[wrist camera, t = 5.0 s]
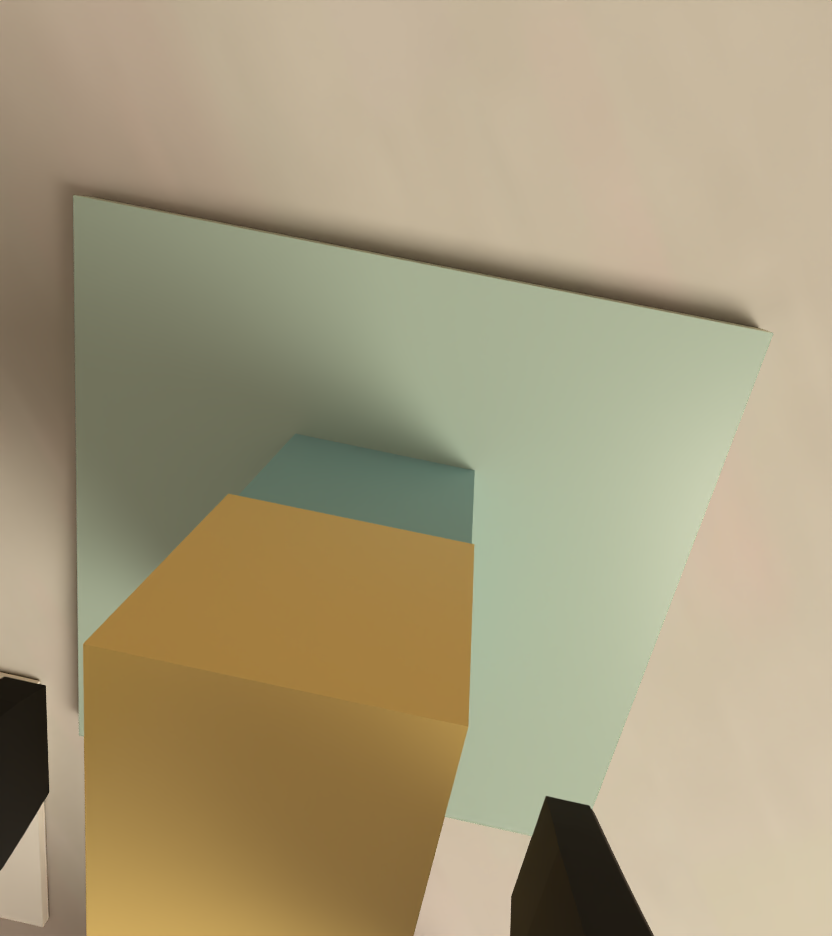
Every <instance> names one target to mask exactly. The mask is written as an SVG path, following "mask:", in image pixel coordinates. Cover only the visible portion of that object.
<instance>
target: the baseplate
mask: <svg viewBox="0 0 832 936" xmlns="http://www.w3.org/2000/svg"><path fill="white" fill-rule="evenodd" d="M73 235H74V326H75V417H76V508H77V599H78V690H79V736H84V688H83V643H84V642H85V641H86V640H87V639H88V638H89V637H90V636H91V635H92V634H93V633H94V632H95V631H96V630H97V629H98V628H99V627H100V626H101V625H102V624H103V623H104V622H105V621H106V620H107V619H108V617H109V616H110V615H111V614H112V613H113V612H114V611H115V610H116V609H117V608H118V607H119V606H120V605H121V604H122V603H123V602H124V601H125V600H126V599H127V598H128V597H129V596H130V595H131V594H132V593H133V592H134V591H135V590H136V589H137V588H138V586H139V585H140V584H141V583H142V582H143V581H144V580H145V579H146V578H147V577H148V576H149V575H150V574H151V573H152V572H153V571H154V570H155V569H156V568H157V567H158V566H159V565H160V564H161V563H162V562H163V561H164V560H165V559H166V558H167V557H168V555H169V554H170V553H171V552H172V551H173V550H174V549H175V548H176V547H177V546H178V545H179V544H180V543H181V542H182V541H183V540H184V539H185V538H186V537H187V536H188V535H189V534H190V533H191V532H192V531H193V530H194V529H195V528H196V527H197V526H198V524H199V523H200V522H201V521H202V520H203V519H204V518H205V517H206V516H207V515H208V514H209V513H210V512H211V511H212V510H213V509H214V508H215V507H216V506H217V505H218V504H219V503H220V502H221V501H222V500H223V499H224V498H225V497H226V496H227V494H233V495H239V494H240V493H241V492H242V491H243V490H244V489H245V488H246V486H247V485H248V484H249V483H250V482H251V481H252V480H253V479H254V478H255V477H256V476H257V475H258V473H259V472H260V471H261V470H262V469H263V468H264V467H265V466H266V465H267V464H268V463H269V462H270V460H271V459H272V458H273V457H274V456H275V455H276V454H277V453H278V452H279V451H280V450H281V449H282V447H283V446H284V445H285V444H286V443H287V442H288V441H289V440H290V439H291V438H292V437H293V436H294V434H300V435H305V436H309V437H314V438H319V439H324V440H329V441H334V442H339V443H343V444H348V445H353V446H358V447H363V448H368V449H372V450H377V451H382V452H387V453H392V454H397V455H402V456H406V457H411V458H416V459H421V460H426V461H431V462H435V463H440V464H445V465H450V466H455V467H460V468H465V469H469V470H474V471H475V477H474V501H473V525H472V544H474V574H473V604H472V635H471V665H470V696H469V727H468V731H467V734H466V738H465V742H464V746H463V749H462V753H461V757H460V761H459V765H458V768H457V772H456V776H455V780H454V784H453V787H452V791H451V795H450V799H449V803H448V806H447V810H446V814H445V817H448V818H452V819H457V820H461V821H466V822H470V823H475V824H479V825H484V826H488V827H493V828H497V829H502V830H506V831H511V832H515V833H520V834H524V835H529V836H532V835H533V832H534V829H535V826H536V823H537V820H538V817H539V814H540V811H541V808H542V805H543V802H544V800H545V797H546V796H549V797H554V798H558V799H563V800H567V801H572V802H576V803H581V804H585V805H589V806H590V807H591V809H593V806H594V804H595V801H596V798H597V796H598V793H599V790H600V788H601V785H602V783H603V780H604V777H605V775H606V772H607V769H608V767H609V764H610V762H611V759H612V756H613V754H614V751H615V748H616V746H617V743H618V741H619V738H620V735H621V733H622V730H623V727H624V725H625V722H626V719H627V717H628V714H629V712H630V709H631V706H632V704H633V701H634V698H635V696H636V693H637V691H638V688H639V685H640V683H641V680H642V677H643V675H644V672H645V670H646V667H647V664H648V662H649V659H650V656H651V654H652V651H653V649H654V646H655V643H656V641H657V638H658V635H659V633H660V630H661V628H662V625H663V622H664V620H665V617H666V614H667V612H668V609H669V607H670V604H671V601H672V599H673V596H674V593H675V591H676V588H677V586H678V583H679V580H680V578H681V575H682V572H683V570H684V567H685V565H686V562H687V559H688V557H689V554H690V551H691V549H692V546H693V544H694V541H695V538H696V536H697V533H698V530H699V528H700V525H701V523H702V520H703V517H704V515H705V512H706V509H707V507H708V504H709V502H710V499H711V496H712V494H713V491H714V488H715V486H716V483H717V481H718V478H719V475H720V473H721V470H722V467H723V465H724V462H725V460H726V457H727V454H728V452H729V449H730V446H731V444H732V441H733V438H734V436H735V433H736V431H737V428H738V425H739V423H740V420H741V417H742V415H743V412H744V410H745V407H746V404H747V402H748V399H749V396H750V394H751V391H752V389H753V386H754V383H755V381H756V378H757V375H758V373H759V370H760V368H761V365H762V362H763V360H764V357H765V354H766V352H767V349H768V347H769V344H770V341H771V339H772V336H773V333H772V332H769V331H766V330H764V329H760V328H755V327H750V326H745V325H740V324H735V323H730V322H725V321H720V320H715V319H710V318H705V317H700V316H694V315H689V314H684V313H679V312H674V311H669V310H664V309H659V308H654V307H649V306H644V305H639V304H634V303H629V302H623V301H618V300H613V299H608V298H603V297H598V296H593V295H588V294H583V293H578V292H573V291H568V290H563V289H558V288H552V287H547V286H542V285H537V284H532V283H527V282H522V281H517V280H512V279H507V278H502V277H497V276H492V275H487V274H481V273H476V272H471V271H466V270H461V269H456V268H451V267H446V266H441V265H436V264H431V263H426V262H421V261H416V260H410V259H405V258H400V257H395V256H390V255H385V254H380V253H375V252H370V251H365V250H360V249H355V248H350V247H345V246H340V245H334V244H329V243H324V242H319V241H314V240H309V239H304V238H299V237H294V236H289V235H284V234H279V233H274V232H269V231H263V230H258V229H253V228H248V227H243V226H238V225H233V224H228V223H223V222H218V221H213V220H208V219H203V218H198V217H192V216H187V215H182V214H177V213H172V212H167V211H162V210H157V209H152V208H147V207H142V206H137V205H132V204H127V203H121V202H116V201H111V200H106V199H101V198H96V197H91V196H80V195H73Z"/></svg>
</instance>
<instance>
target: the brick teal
mask: <svg viewBox="0 0 832 936" xmlns="http://www.w3.org/2000/svg"><path fill="white" fill-rule="evenodd" d="M474 477H475V471H474V470H469V469H465V468H460V467H455V466H450V465H445V464H440V463H435V462H431V461H426V460H421V459H416V458H411V457H406V456H402V455H397V454H392V453H387V452H382V451H377V450H372V449H368V448H363V447H358V446H353V445H348V444H343V443H339V442H334V441H329V440H324V439H319V438H314V437H309V436H305V435H300V434H294V436H293V437H292V438H291V439H290V440H289V441H288V442H287V443H286V444H285V445H284V446H283V447H282V449H281V450H280V451H279V452H278V453H277V454H276V455H275V456H274V457H273V458H272V459H271V460H270V462H269V463H268V464H267V465H266V466H265V467H264V468H263V469H262V470H261V471H260V472H259V473H258V475H257V476H256V477H255V478H254V479H253V480H252V481H251V482H250V483H249V484H248V485H247V486H246V488H245V489H244V490H243V491H242V492H241V493H240V494H239V495H238V496H243V497H247V498H252V499H257V500H262V501H267V502H272V503H277V504H281V505H286V506H291V507H296V508H301V509H306V510H311V511H315V512H320V513H325V514H330V515H335V516H340V517H344V518H349V519H354V520H359V521H364V522H369V523H374V524H378V525H383V526H388V527H393V528H398V529H403V530H408V531H412V532H417V533H422V534H427V535H432V536H437V537H442V538H446V539H451V540H456V541H461V542H466V543H471V544H472V525H473V501H474Z"/></svg>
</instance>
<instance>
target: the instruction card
mask: <svg viewBox="0 0 832 936" xmlns="http://www.w3.org/2000/svg"><path fill="white" fill-rule="evenodd" d="M4 676H5V677H10V678H14V679H19V680H23V681H28V682H32V683H37V684H40V681H38V680H33V679H29V678H24V677H20V676H15V675H11V674H6V673H2V672H0V679H1V678H2V677H4ZM0 918H5V919H9V920H13V921H18V922H22V923H26V924H30V925H35V926H39V927H44V925H45V923H46V922H47V920H48V919H49V913H48V887H47V860H46V834H45V808H44V802H43V804H42V805H41V807H40V809H39V810H38V812H37V814H36V815H35V817H34V819H33V820H32V822H31V824H30V825H29V827H28V829H27V830H26V832H25V834H24V835H23V837H22V838H21V840H20V842H19V843H18V845H17V846H16V848H15V849H14V851H13V853H12V854H11V856H10V857H9V859H8V860H7V862H6V864H5V865H4V867H3V868H2V869H1V871H0Z"/></svg>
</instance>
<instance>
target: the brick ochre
mask: <svg viewBox="0 0 832 936" xmlns="http://www.w3.org/2000/svg"><path fill="white" fill-rule="evenodd" d="M473 574H474V544H471V543H466V542H461V541H456V540H451V539H446V538H442V537H437V536H432V535H427V534H422V533H417V532H412V531H408V530H403V529H398V528H393V527H388V526H383V525H378V524H374V523H369V522H364V521H359V520H354V519H349V518H344V517H340V516H335V515H330V514H325V513H320V512H315V511H311V510H306V509H301V508H296V507H291V506H286V505H281V504H277V503H272V502H267V501H262V500H257V499H252V498H247V497H243V496H238V495H233V494H227V496H226V497H225V498H224V499H223V500H222V501H221V502H220V503H219V504H218V505H217V506H216V507H215V508H214V509H213V510H212V511H211V512H210V513H209V514H208V515H207V516H206V517H205V518H204V519H203V520H202V521H201V522H200V523H199V524H198V526H197V527H196V528H195V529H194V530H193V531H192V532H191V533H190V534H189V535H188V536H187V537H186V538H185V539H184V540H183V541H182V542H181V543H180V544H179V545H178V546H177V547H176V548H175V549H174V550H173V551H172V552H171V553H170V554H169V555H168V557H167V558H166V559H165V560H164V561H163V562H162V563H161V564H160V565H159V566H158V567H157V568H156V569H155V570H154V571H153V572H152V573H151V574H150V575H149V576H148V577H147V578H146V579H145V580H144V581H143V582H142V583H141V584H140V585H139V586H138V588H137V589H136V590H135V591H134V592H133V593H132V594H131V595H130V596H129V597H128V598H127V599H126V600H125V601H124V602H123V603H122V604H121V605H120V606H119V607H118V608H117V609H116V610H115V611H114V612H113V613H112V614H111V615H110V616H109V617H108V619H107V620H106V621H105V622H104V623H103V624H102V625H101V626H100V627H99V628H98V629H97V630H96V631H95V632H94V633H93V634H92V635H91V636H90V637H89V638H88V639H87V640H86V641H85V642H84V643H83V688H84V769H85V851H86V932H87V936H413V935H414V931H415V928H416V924H417V920H418V916H419V912H420V909H421V905H422V901H423V897H424V893H425V890H426V886H427V882H428V878H429V875H430V871H431V867H432V863H433V859H434V856H435V852H436V848H437V844H438V840H439V837H440V833H441V829H442V825H443V821H444V818H445V814H446V810H447V806H448V803H449V799H450V795H451V791H452V787H453V784H454V780H455V776H456V772H457V768H458V765H459V761H460V757H461V753H462V749H463V746H464V742H465V738H466V734H467V731H468V727H469V696H470V665H471V635H472V604H473Z"/></svg>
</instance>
